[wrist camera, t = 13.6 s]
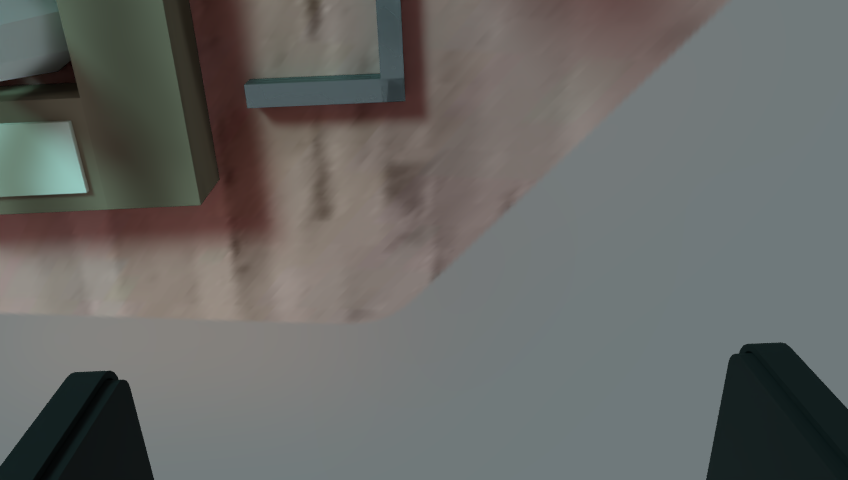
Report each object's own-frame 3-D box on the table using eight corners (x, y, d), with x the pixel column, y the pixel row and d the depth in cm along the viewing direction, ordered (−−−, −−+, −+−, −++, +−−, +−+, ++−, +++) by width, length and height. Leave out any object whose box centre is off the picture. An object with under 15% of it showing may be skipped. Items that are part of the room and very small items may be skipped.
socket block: (155, -196, 31) (119, -215, 27) (219, 179, 38) (198, 207, 34) (-203, -184, 30) (-292, -201, 26) (-68, 192, 38) (-121, 222, 34)
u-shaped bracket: (395, -100, 33) (395, -101, 31) (404, 94, 36) (405, 101, 35) (225, -93, 32) (217, -94, 31) (253, 101, 36) (247, 108, 35)
